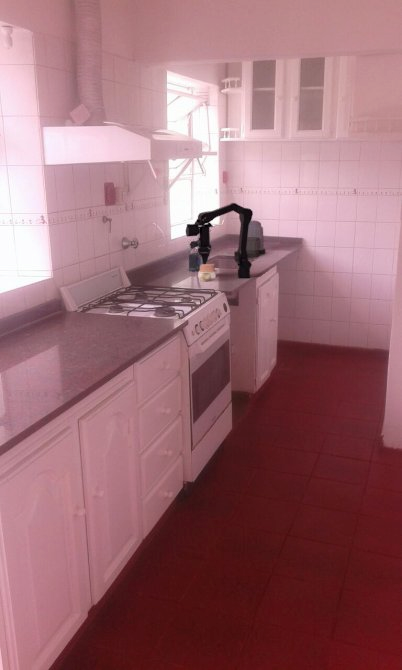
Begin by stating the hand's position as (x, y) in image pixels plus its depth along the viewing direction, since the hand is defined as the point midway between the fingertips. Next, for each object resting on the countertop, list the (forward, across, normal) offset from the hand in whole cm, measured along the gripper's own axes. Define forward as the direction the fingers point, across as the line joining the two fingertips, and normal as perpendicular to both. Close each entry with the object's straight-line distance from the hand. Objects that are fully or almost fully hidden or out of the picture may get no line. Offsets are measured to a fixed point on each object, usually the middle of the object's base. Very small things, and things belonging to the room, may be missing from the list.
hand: (205, 263), depth 347 cm
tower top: (+7, -15, 0) cm, 17 cm away
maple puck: (+10, 0, 0) cm, 10 cm away
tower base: (+11, -15, 0) cm, 18 cm away
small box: (+10, -36, -8) cm, 38 cm away
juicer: (+11, -100, +26) cm, 103 cm away
